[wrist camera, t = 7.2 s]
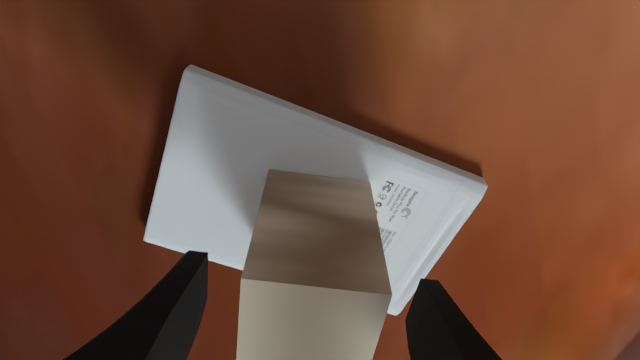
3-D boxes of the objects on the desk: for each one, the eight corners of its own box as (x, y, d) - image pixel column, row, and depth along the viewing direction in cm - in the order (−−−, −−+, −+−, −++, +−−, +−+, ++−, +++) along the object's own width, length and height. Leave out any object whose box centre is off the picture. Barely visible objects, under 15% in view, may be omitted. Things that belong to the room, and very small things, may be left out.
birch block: (261, 249, 18) (235, 374, 12) (268, 169, 16) (241, 278, 10) (352, 259, 18) (363, 386, 13) (370, 182, 16) (392, 295, 11)
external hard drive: (195, 58, 15) (478, 169, 17) (155, 222, 19) (391, 297, 21) (181, 69, 14) (492, 189, 16) (141, 244, 18) (396, 321, 20)
